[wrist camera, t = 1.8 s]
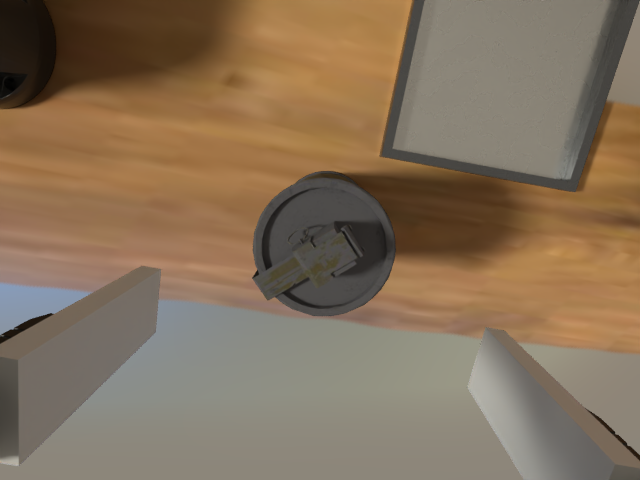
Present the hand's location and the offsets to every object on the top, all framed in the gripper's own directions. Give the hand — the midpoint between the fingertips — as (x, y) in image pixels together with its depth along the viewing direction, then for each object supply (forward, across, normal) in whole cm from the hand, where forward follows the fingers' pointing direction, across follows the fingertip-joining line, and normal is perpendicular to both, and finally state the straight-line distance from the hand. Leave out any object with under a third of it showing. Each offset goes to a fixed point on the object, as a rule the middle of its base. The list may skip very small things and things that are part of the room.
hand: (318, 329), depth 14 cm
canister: (+30, 0, 0) cm, 30 cm away
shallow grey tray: (+29, +16, +19) cm, 38 cm away
